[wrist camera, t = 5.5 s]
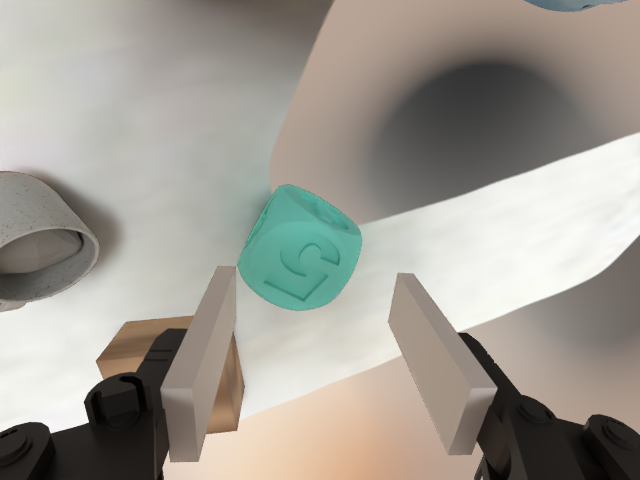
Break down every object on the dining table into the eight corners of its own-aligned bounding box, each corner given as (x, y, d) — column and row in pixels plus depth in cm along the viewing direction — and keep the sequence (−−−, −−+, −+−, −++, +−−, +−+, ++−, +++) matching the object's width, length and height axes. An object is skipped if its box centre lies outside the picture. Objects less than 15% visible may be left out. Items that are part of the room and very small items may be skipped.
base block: (127, 320, 34) (95, 361, 29) (230, 310, 35) (218, 349, 29) (153, 394, 39) (130, 442, 33) (244, 385, 39) (237, 430, 34)
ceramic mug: (69, 188, 30) (-23, 143, 23) (121, 243, 28) (38, 213, 21) (-23, 273, 28) (-154, 254, 21) (25, 337, 27) (-101, 341, 19)
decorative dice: (243, 244, 32) (229, 285, 24) (282, 175, 30) (279, 198, 22) (312, 278, 34) (317, 325, 27) (353, 216, 32) (372, 249, 24)
